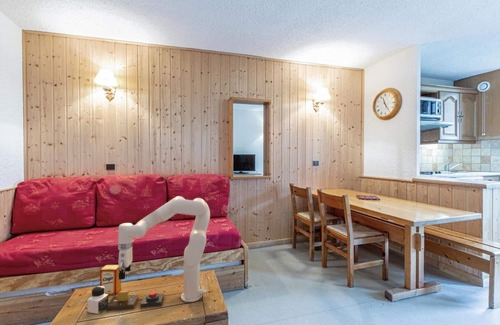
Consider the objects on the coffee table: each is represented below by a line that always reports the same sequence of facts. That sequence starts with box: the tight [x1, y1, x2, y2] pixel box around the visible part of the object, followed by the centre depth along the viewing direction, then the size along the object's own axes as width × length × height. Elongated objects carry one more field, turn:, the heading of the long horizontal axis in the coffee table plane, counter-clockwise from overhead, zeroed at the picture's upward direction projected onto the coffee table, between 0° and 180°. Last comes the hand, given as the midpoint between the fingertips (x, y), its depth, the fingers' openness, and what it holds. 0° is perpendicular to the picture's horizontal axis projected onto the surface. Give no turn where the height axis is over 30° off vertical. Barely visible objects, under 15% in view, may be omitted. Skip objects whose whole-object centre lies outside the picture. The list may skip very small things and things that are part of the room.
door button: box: [148, 291, 157, 298], centre depth 145 cm, size 4×4×2 cm
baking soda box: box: [99, 264, 122, 296], centre depth 155 cm, size 10×6×16 cm
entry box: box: [140, 292, 165, 308], centre depth 145 cm, size 11×9×4 cm
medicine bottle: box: [87, 285, 109, 315], centre depth 137 cm, size 7×7×12 cm
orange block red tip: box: [117, 289, 130, 301], centre depth 142 cm, size 6×2×5 cm, turn 100°
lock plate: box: [105, 294, 140, 312], centre depth 142 cm, size 14×10×3 cm
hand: (124, 275), depth 142 cm, fingers open, 9 cm apart
